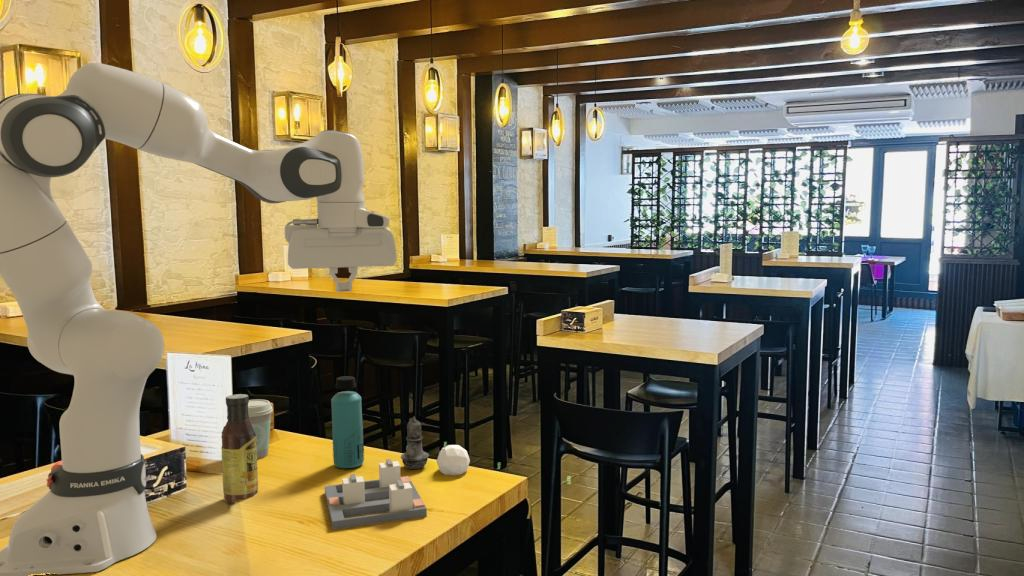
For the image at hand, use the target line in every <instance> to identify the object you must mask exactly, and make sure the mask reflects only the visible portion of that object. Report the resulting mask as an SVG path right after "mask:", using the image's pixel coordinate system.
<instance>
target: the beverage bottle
mask: <svg viewBox="0 0 1024 576" xmlns="http://www.w3.org/2000/svg"><path fill="white" fill-rule="evenodd" d="M335 379H336V380H335V389H337V390H346V391H340V392H337V393H335V395H333V397H332V398H331V399H330V402H331V420H332V421H331V422H332V423H331V424H332V426H331V427H332V429H331V430H332V431H331V434H332V435H331V436H332V456H333V457H332V458H333V463H334V464H333V465H334V466H335V467H336V468H339V469H351V468H357V467H360V466H362V465H363V464H364V460H365V442H364V428H363V413H362V412H363V411H362V409H363V408H362V396H361V395H360V394H359V393H358V392H356V391H354V390H353V391H352V390H351V389H354V388H356V387H357V384H356V378H355V377H354V376H351V375H350V376H349V375H346V376H338V377H336V378H335ZM350 390H351V391H350Z"/></svg>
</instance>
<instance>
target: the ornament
mask: <svg viewBox="0 0 1024 576" xmlns="http://www.w3.org/2000/svg"><path fill="white" fill-rule="evenodd" d="M470 462H471V460H470V456H469V454H468V451H467V450H466V449H465V448H463V447H462V446H461V445H459V444H447V445H446V446H445V447H442V448H441V450H439V453H438V455H437V460H436V463H437V466H438V469H439V472H440V473H442V474H443V475H444V476H459V475H462V474H465V473H466V472H468V469H469V465H470Z"/></svg>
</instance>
